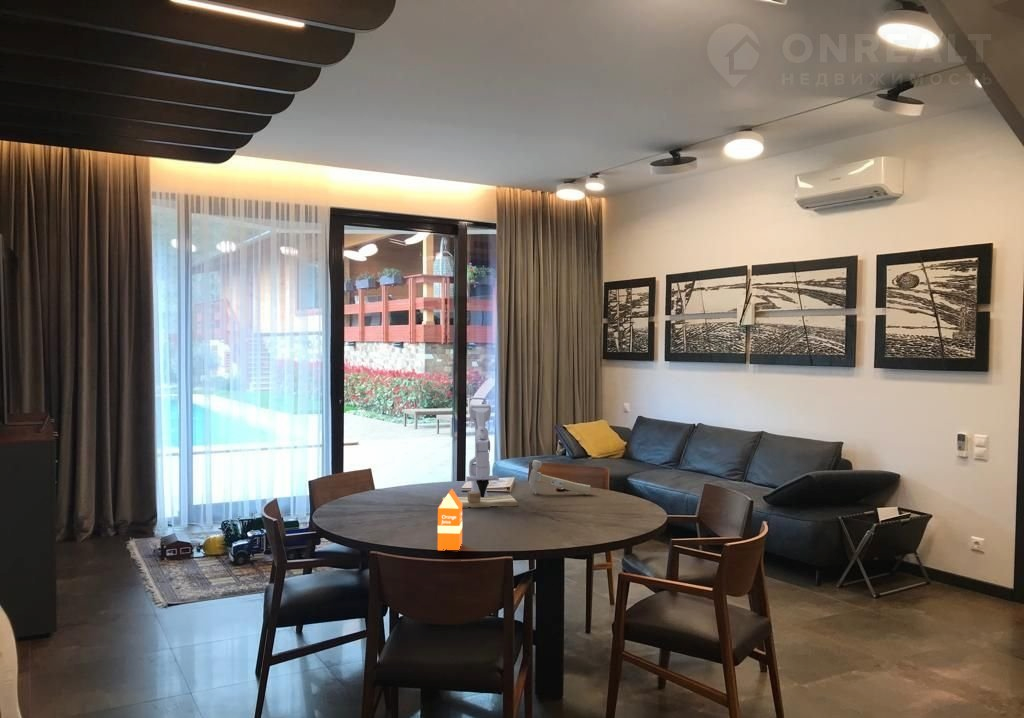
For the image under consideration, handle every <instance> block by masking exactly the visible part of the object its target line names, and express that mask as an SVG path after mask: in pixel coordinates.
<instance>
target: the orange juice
mask: <svg viewBox="0 0 1024 718" xmlns="http://www.w3.org/2000/svg"><path fill="white" fill-rule="evenodd" d="M444 497H445V499H444V500H443V502H441V503H440V504H439V506H438V507H437V551H445V550H446V549H447V550H459V549H460V550H461V548H460V546H461V547H462V545H463V508H462V505H463V504H462V503H461V501H460V500H459V498H458V497H459V496H457V494H456V492H455V491H454V489H453V488H451V489H450V491H448V493H447V495H446V496H444ZM461 544H462V545H461ZM443 549H444V550H443ZM460 550H459V551H460Z"/></svg>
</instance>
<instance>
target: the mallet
mask: <svg viewBox="0 0 1024 718" xmlns="http://www.w3.org/2000/svg"><path fill="white" fill-rule="evenodd" d="M467 497H468V502H469V503H472V502H480V492H479V491H472V490H468V491H467Z"/></svg>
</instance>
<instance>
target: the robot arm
mask: <svg viewBox="0 0 1024 718" xmlns="http://www.w3.org/2000/svg"><path fill="white" fill-rule="evenodd" d="M491 413H492V411H491V404H489V403H487V404H485V403H483V404H482V403H481V404H474V403H473V404H472V403H471V404H470V405H469V419H470V422H473V425H474V438H475V439H474V457H472V458H471V459H470V460H469V465H468V473H469V476H466V477H465V478H466V479H465V481H466V482H471V484H470V485H471V490H472V491H479V492H480V496H481V497H484V496H490V495H489V494H488V492H487V491H488V486H489V485H490V481H496V482H497V481H500V480H499V479H500V477H499V475H491V464H490V451H491V441H490V438H489V429H488V428H487V427H486V423H487V422H489V421H490V418H491ZM471 490H470V491H471Z"/></svg>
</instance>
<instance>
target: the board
mask: <svg viewBox="0 0 1024 718" xmlns="http://www.w3.org/2000/svg"><path fill="white" fill-rule="evenodd" d="M445 497H446V496H444V497H442V498H441V499H442V500H441V501H442V502H443V500H444V499H445ZM457 497H458V498H459V500H460V501H461V503H462V504H463V505H462V509H465V508H466V509H467V508H468V507H471V508H491V507H490V506H498V507H517V506H518V501H517V500H516V499H515V498H514V497H513V496H512V495H511V494H509V495H507V494H505V495H504V494H503V495H489V496H484V497H481V496H480V502H472V503H469V502H468V496H457ZM442 502H441V503H442ZM468 509H469V508H468Z"/></svg>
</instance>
